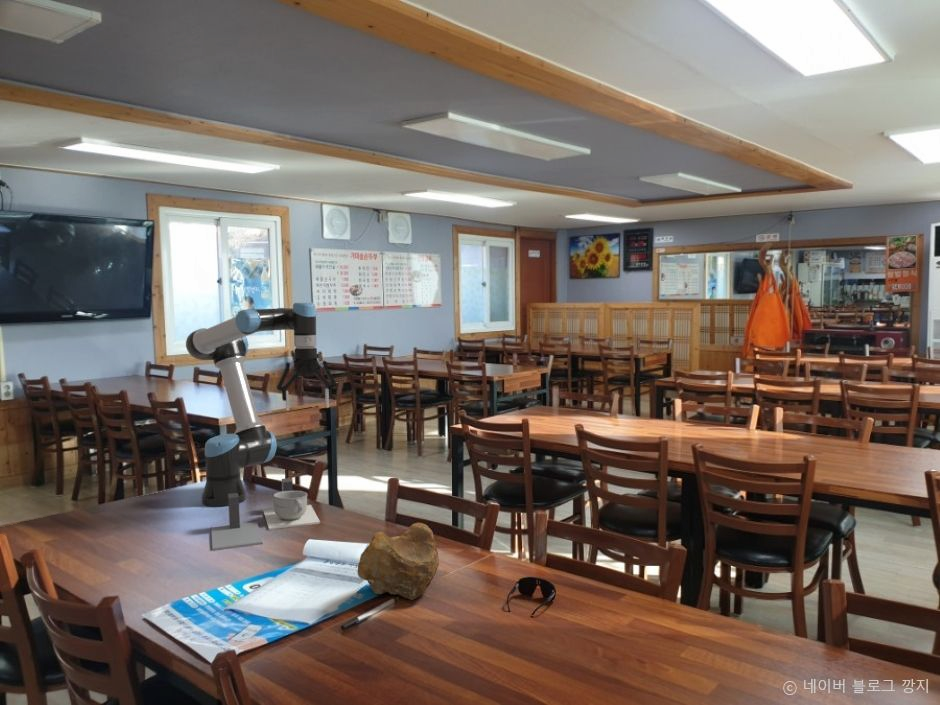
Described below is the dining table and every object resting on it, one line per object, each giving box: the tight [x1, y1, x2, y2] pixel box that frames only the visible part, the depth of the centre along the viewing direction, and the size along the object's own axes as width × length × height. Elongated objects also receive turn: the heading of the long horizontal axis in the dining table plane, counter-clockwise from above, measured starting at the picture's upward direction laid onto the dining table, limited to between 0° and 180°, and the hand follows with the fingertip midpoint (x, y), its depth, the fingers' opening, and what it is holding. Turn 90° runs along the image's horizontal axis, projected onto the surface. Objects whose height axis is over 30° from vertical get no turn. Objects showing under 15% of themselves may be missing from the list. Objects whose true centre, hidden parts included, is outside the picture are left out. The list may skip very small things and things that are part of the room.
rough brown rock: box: [357, 522, 440, 601], centre depth 175 cm, size 23×17×15 cm
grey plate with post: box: [263, 477, 321, 531], centre depth 234 cm, size 21×16×11 cm
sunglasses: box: [506, 576, 557, 616], centre depth 167 cm, size 10×12×5 cm
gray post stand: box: [210, 493, 263, 551], centre depth 216 cm, size 21×14×11 cm, turn 21°
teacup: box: [273, 490, 308, 520], centre depth 231 cm, size 14×11×8 cm
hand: (307, 408), depth 243 cm, fingers open, 13 cm apart
